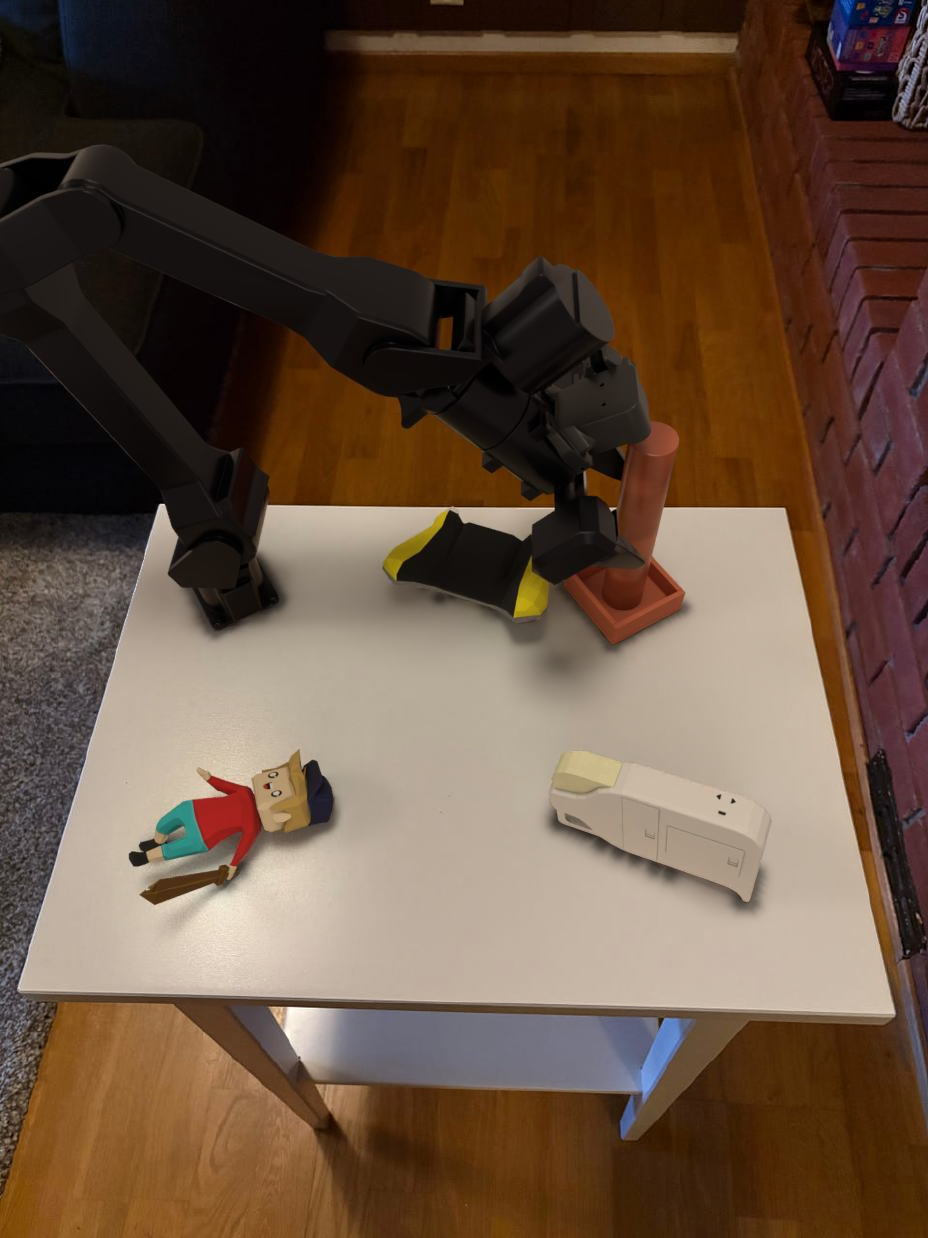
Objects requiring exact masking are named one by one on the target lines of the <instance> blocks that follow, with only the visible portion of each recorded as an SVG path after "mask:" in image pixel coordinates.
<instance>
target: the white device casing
mask: <svg viewBox="0 0 928 1238" xmlns="http://www.w3.org/2000/svg"><path fill="white" fill-rule="evenodd" d="M548 798H549V803H550V806H551V807H553V808H554V809H555V810H556V816H557V820H558V821H559V823H560V824H563V825H565V826H568V827H571V828H574V829H576V830H580V831H583V832H586V833H588V834H592V835H594V836H597V837H600V838H601V839H603V840H604V841H606V842H608V843H609V844H611V846H614V847H616V848H617V849H620V850H622V851H624V852H627V853H629V854H632V855H634V856H638V857H641V858H644V859H647V860H650V861H654V862H655V863H659V864H662V865H664V866H668V867H670V868H673V869H675V870H679V871H682V872H685V873H687V874H690V875H693V876H696V877H699V878H702V879H705V880H707V881H710V882H713V883H715V884H718V885H721V886H724V887H726V888H728V889H731V890H733V891H734V892H735V893H737V894H738V895H739V897H740V898H741V900H742V901H743V902H746V903H749V902H750V900H751V898H752V894H753V891H754V888H755V884H756V880H757V877H758V874H759V870H760V867H761V862H762V859H763V857H764V852H765V848H766V845H767V841H768V838H769V837H768V836H769V833H770V830H771V825H772V816H771V813H770V812H769V810H767V809H766V807H764V806H763V805H762V804H760V803H759V802H758V801H756V800H754V799H751V798H748V797H746V796H745V795H741V794H737V793H734V792H731V791H729V790H728V791H727V790H725V789H722V788H718V787H715V786H712V785H708V784H705V783H702V782H698V781H696V780H692V779H688V778H685V777H683V776H679V775H675V774H673V773H669V772H666V771H663V770H660V769H656V768H654V767H653V768H652V767H649V766H646V765H643V764H639V763H635V762H629V761H620V760H619V761H618V760H615V759H612V758H609V757H606V756H602V755H599V754H595V753H592V752H590V751H586V750H571V751H566V752H565V751H564V753H562V754H560V757H559V758H558V761H557V763H556V766H555V768H554V771H553V773H552V775H551V784H550V787H549V789H548Z"/></svg>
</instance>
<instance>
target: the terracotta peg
mask: <svg viewBox="0 0 928 1238" xmlns="http://www.w3.org/2000/svg"><path fill="white" fill-rule="evenodd" d="M650 422H651V433H650V435H649V436H648V437H647V438H646V439H645V440H643V441H642V442H639V443H636V444H626V451H625V462H624V468H623V473H622V479H621V481H620V485H619V492H618V496H617V501H616V502H617V503H616V508H615V509H616V510H617V519H618V530H619V533H620V534H621V535H622V536H623V537H624V538H625V539H626V540H627V541H628V542H629V543H630V544H631V545H632V546H633V547H634V548H635V549H636V550H637V551H638V552H639V553H640V554H641V555H642V557H643V558H644V559H645V564H644V565H643V566H641V567H639V568H637V569H623V568H608V567H606V572H605V578H604V583H603V589H602V596H603V599H604V601H605V602H606V603H607V604H608V605H609V606H611V607H612V608H614V609H618V610H630V609H633V608H635V607H636V606H637V605H639V603H640V602H641V600H642V596H643V592H644V588H645V583H646V579H647V575H648V571H649V567H650V562H651V558H652V557H653V553H654V549H655V546H656V541H657V538H658V532H659V530H660V525H661V520H662V516H663V512H664V508H665V503H666V499H667V495H668V491H669V486H670V482H671V479H672V478H671V477H672V474H673V471H674V465H675V461H676V457H677V453H678V450H679V449H678V448H679V444H680V437H679V435H678V433H677V431H676V430H675V429H674V428H673V427H672V426H670V425H668V424H667V423H663V422H660V421H654V420H650Z"/></svg>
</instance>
